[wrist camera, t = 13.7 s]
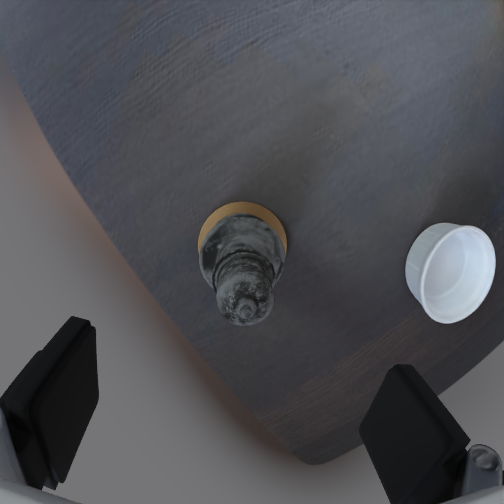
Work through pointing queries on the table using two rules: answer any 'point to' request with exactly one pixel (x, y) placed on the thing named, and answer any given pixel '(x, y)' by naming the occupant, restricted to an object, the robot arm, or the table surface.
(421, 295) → the ramekin
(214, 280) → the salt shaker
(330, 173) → the table surface
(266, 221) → the coaster
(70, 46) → the table surface
